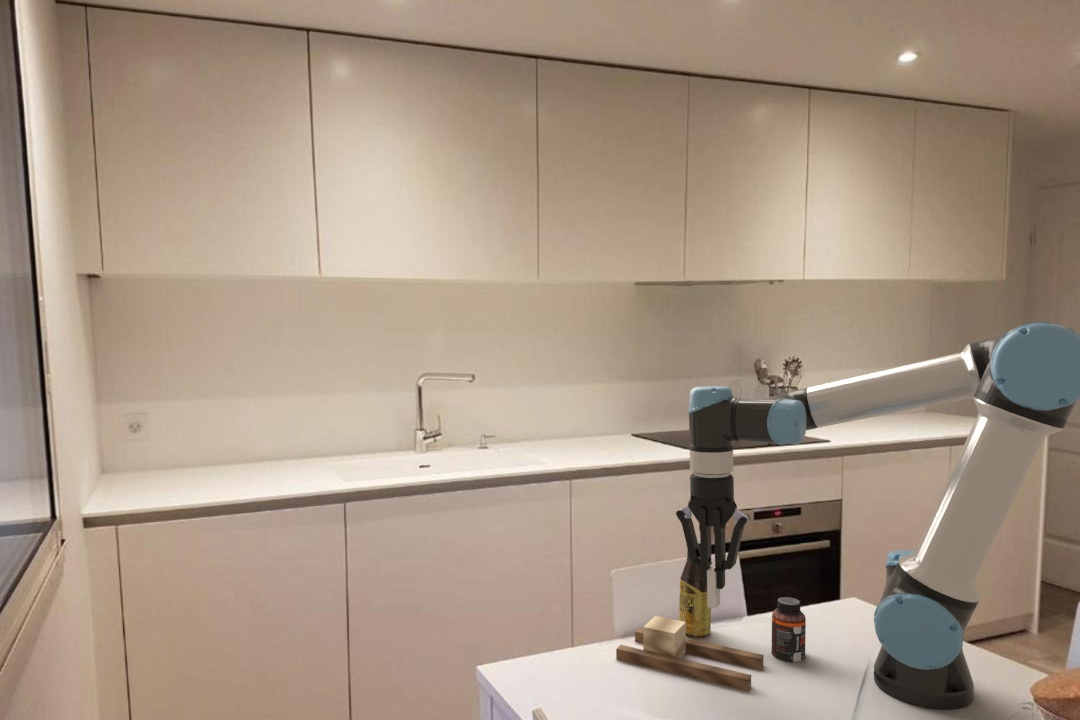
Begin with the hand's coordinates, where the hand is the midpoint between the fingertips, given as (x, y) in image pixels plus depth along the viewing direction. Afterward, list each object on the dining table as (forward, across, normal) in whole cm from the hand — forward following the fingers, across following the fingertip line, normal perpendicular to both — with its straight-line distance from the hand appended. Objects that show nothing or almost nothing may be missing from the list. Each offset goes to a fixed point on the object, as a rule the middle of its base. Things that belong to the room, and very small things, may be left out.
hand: (713, 605), depth 129 cm
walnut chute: (+12, +5, 0) cm, 13 cm away
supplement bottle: (+13, -10, -12) cm, 20 cm away
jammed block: (+11, +10, 0) cm, 15 cm away
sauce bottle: (+12, +8, -13) cm, 20 cm away
